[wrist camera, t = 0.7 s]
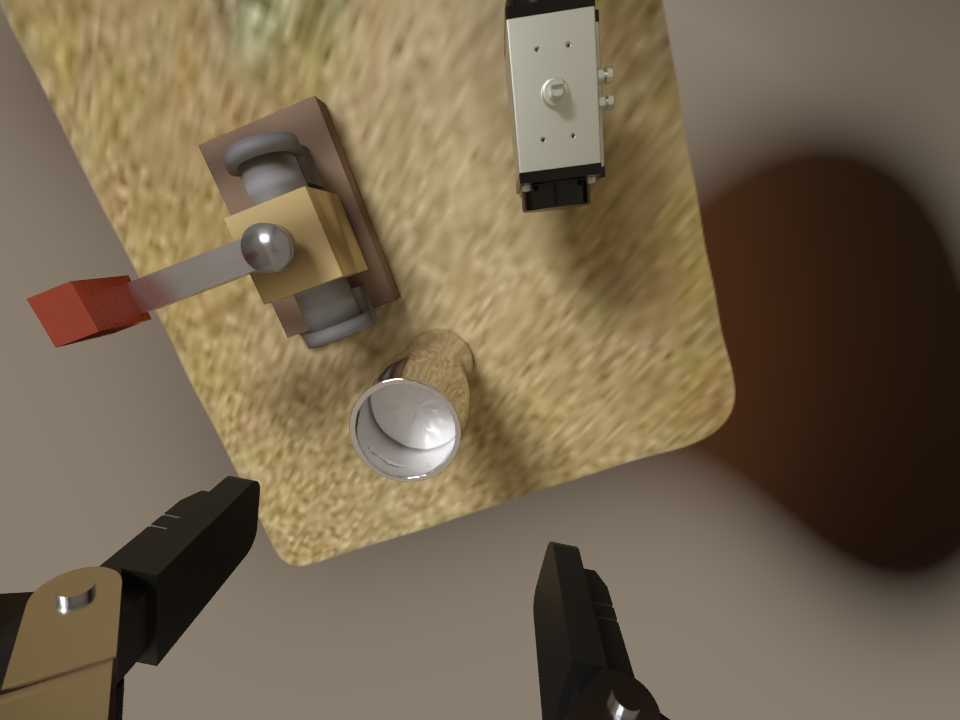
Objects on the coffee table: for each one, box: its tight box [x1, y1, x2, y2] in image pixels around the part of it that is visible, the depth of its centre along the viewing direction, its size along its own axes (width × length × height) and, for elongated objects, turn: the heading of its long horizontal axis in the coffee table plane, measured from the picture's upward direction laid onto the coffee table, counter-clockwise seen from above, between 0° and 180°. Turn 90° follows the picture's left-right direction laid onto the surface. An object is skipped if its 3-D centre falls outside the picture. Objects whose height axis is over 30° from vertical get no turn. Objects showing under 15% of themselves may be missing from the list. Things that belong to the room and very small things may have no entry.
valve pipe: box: [198, 96, 400, 349], centre depth 33 cm, size 17×10×10 cm, turn 19°
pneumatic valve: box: [504, 0, 614, 213], centre depth 29 cm, size 6×12×12 cm, turn 6°
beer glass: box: [349, 330, 473, 482], centre depth 33 cm, size 7×7×15 cm
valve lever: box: [27, 223, 297, 348], centre depth 27 cm, size 14×3×5 cm, turn 109°
